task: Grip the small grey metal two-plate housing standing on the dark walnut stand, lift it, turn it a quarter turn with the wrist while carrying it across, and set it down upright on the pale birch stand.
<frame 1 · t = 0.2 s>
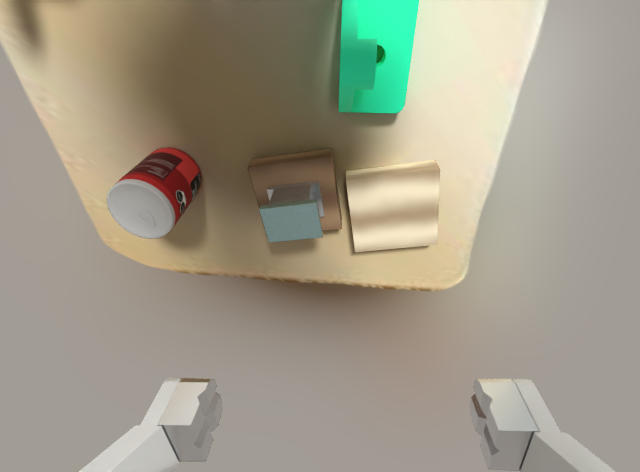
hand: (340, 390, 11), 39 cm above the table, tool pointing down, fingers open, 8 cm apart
stand b: (391, 203, 51), on the table
stand a: (299, 189, 50), on the table
canned food: (177, 171, 50), on the table
housing: (296, 199, 48), point 3 cm above the table, touching stand a
camera mount: (373, 52, 40), on the table
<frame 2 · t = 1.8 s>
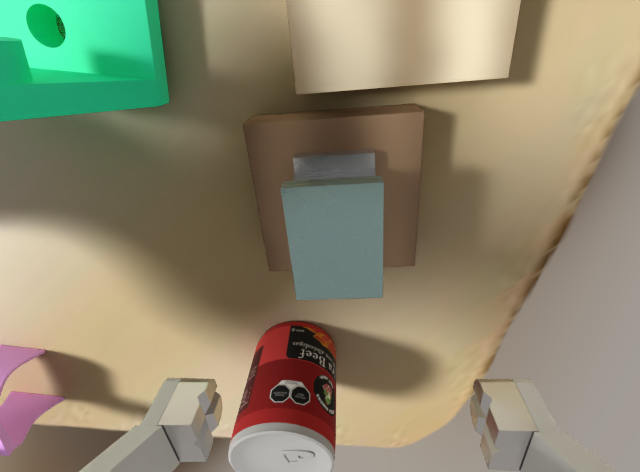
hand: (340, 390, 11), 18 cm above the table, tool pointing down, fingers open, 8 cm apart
stand a: (337, 185, 26), on the table
canned food: (297, 345, 35), on the table
housing: (336, 201, 24), point 3 cm above the table, touching stand a
toy chair: (28, 369, 39), on the table
camera mount: (78, 27, 22), on the table
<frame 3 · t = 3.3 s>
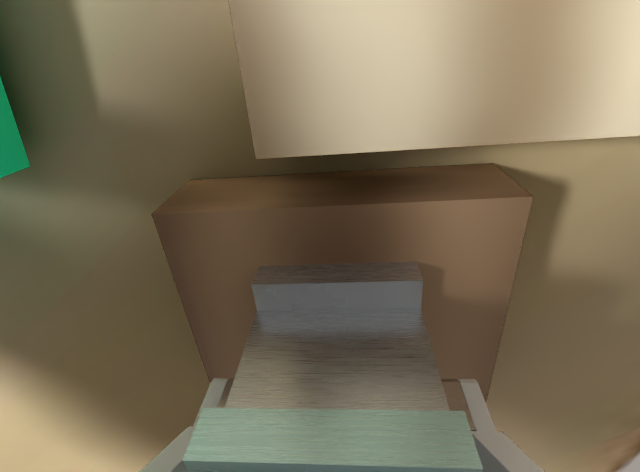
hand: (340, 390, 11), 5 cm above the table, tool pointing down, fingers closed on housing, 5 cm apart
stand a: (342, 292, 15), on the table
housing: (341, 344, 13), point 3 cm above the table, touching gripper, stand a
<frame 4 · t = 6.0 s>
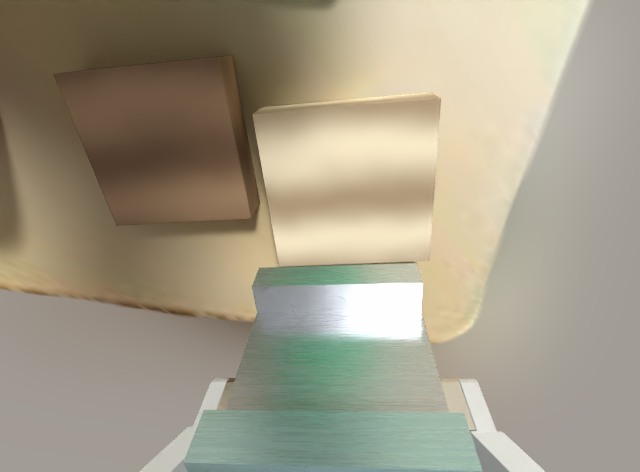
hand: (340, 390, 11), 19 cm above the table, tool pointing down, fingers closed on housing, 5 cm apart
stand b: (348, 179, 28), on the table
stand a: (178, 141, 27), on the table
housing: (341, 345, 13), point 17 cm above the table, touching gripper
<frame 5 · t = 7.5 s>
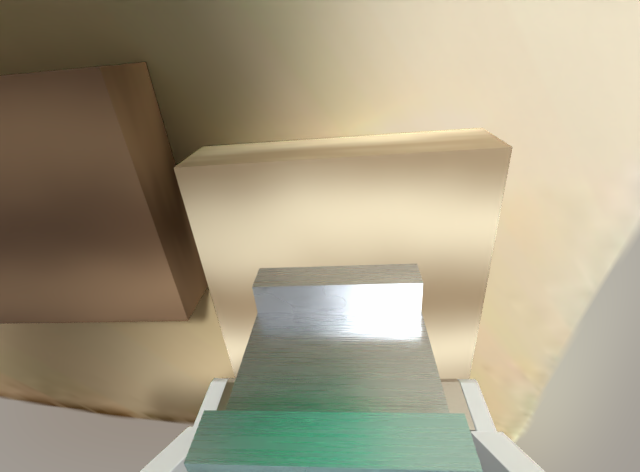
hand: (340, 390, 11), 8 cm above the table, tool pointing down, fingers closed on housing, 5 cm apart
stand b: (343, 255, 18), on the table
stand a: (76, 195, 17), on the table
housing: (342, 345, 13), point 6 cm above the table, touching gripper
when the fingers open (6 cm above the table, at t = 8.7 s): housing stays where it is, resting on stand b.
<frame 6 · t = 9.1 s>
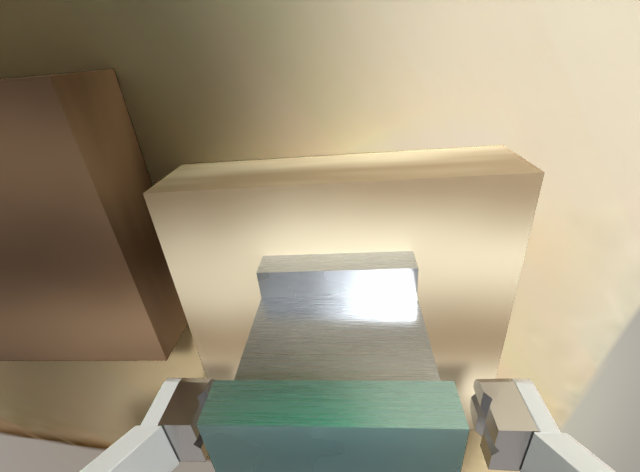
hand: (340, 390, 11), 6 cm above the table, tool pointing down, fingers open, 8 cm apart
stand b: (343, 284, 16), on the table
stand a: (41, 218, 15), on the table
housing: (341, 331, 13), point 3 cm above the table, touching stand b
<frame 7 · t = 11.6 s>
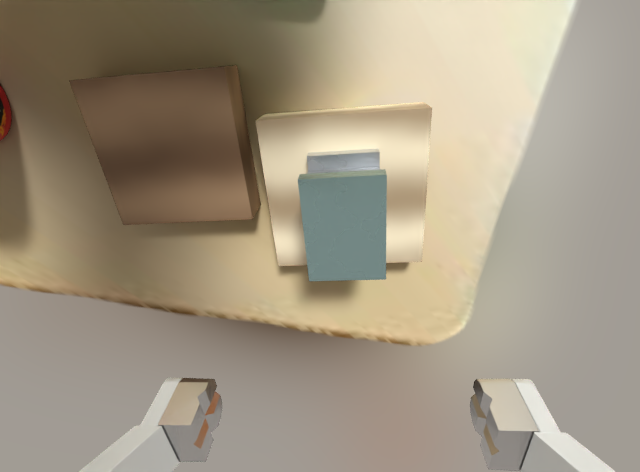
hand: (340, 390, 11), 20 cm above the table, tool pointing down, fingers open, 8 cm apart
stand b: (345, 183, 29), on the table
stand a: (184, 145, 29), on the table
housing: (345, 196, 26), point 3 cm above the table, touching stand b
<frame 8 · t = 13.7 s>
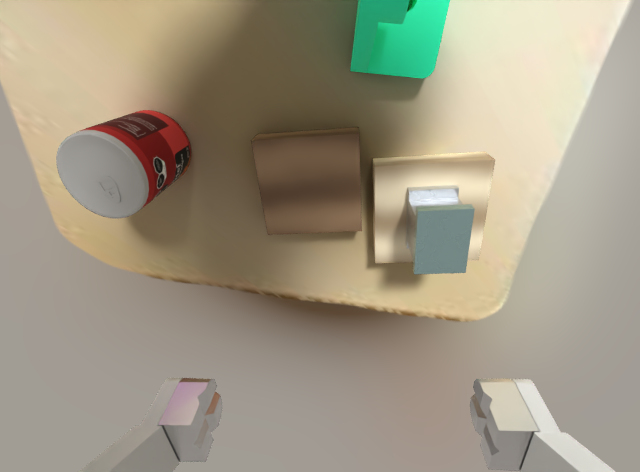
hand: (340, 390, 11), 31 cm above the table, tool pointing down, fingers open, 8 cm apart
stand b: (424, 205, 41), on the table
stand a: (311, 178, 40), on the table
canned food: (160, 144, 40), on the table
housing: (429, 215, 38), point 3 cm above the table, touching stand b
camera mount: (399, 1, 32), on the table
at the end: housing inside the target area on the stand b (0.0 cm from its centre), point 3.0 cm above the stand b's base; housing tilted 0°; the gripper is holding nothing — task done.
